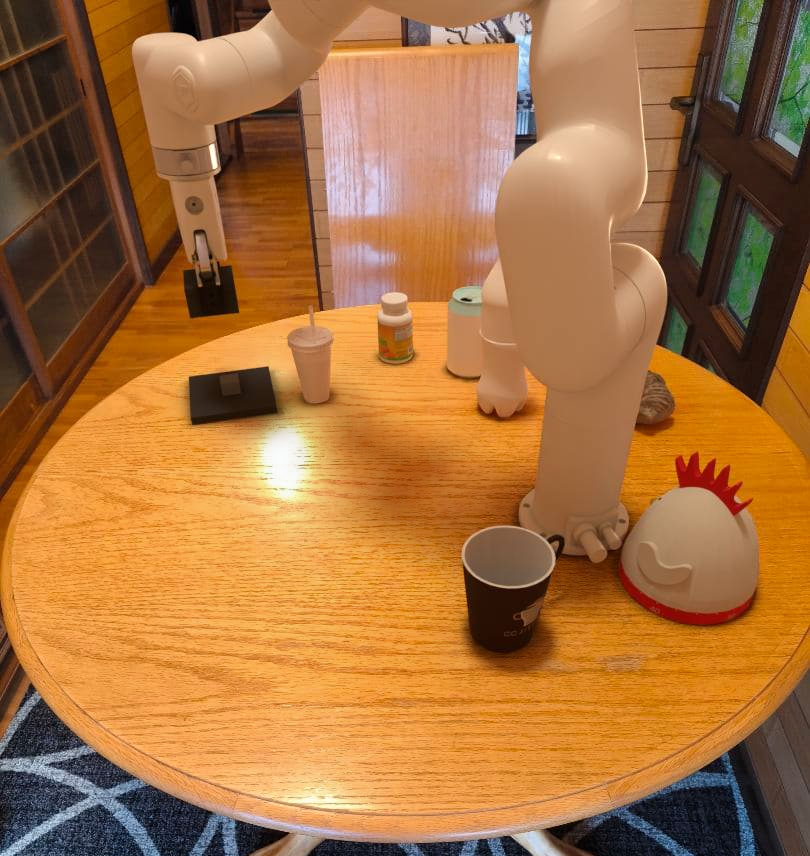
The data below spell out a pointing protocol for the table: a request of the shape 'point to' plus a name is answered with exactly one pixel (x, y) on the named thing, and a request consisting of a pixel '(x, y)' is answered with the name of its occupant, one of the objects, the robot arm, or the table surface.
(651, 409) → the seashell
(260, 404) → the base pad
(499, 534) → the coffee mug
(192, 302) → the top pad
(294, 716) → the table surface
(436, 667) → the table surface
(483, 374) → the water bottle
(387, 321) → the supplement bottle
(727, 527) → the kitchen timer
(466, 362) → the can
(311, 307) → the smoothie
